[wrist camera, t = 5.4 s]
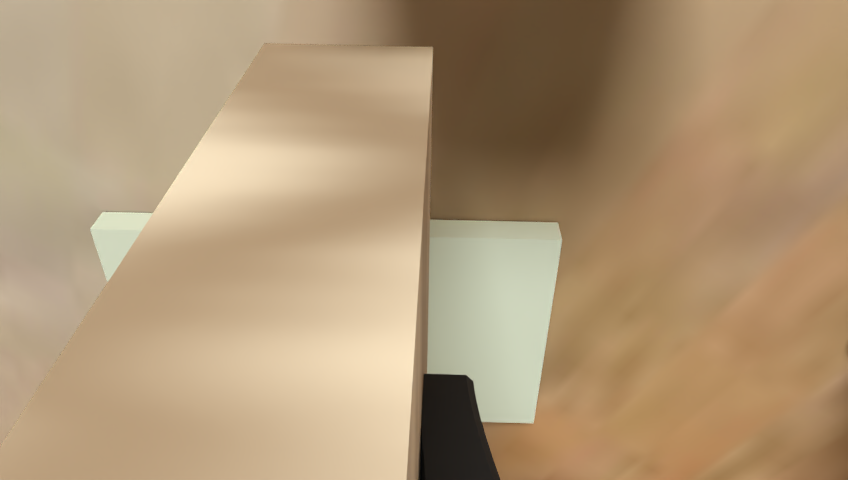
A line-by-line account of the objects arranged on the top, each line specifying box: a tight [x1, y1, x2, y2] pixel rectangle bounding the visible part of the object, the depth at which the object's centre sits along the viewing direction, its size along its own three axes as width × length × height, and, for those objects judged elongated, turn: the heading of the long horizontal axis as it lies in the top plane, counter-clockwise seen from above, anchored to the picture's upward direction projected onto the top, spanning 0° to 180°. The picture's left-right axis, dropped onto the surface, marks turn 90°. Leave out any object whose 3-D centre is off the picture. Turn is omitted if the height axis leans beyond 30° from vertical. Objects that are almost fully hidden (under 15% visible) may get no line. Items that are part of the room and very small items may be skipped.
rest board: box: [90, 212, 562, 423], centre depth 20 cm, size 12×7×1 cm, turn 89°
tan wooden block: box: [0, 43, 433, 480], centre depth 9 cm, size 2×9×8 cm, turn 0°
